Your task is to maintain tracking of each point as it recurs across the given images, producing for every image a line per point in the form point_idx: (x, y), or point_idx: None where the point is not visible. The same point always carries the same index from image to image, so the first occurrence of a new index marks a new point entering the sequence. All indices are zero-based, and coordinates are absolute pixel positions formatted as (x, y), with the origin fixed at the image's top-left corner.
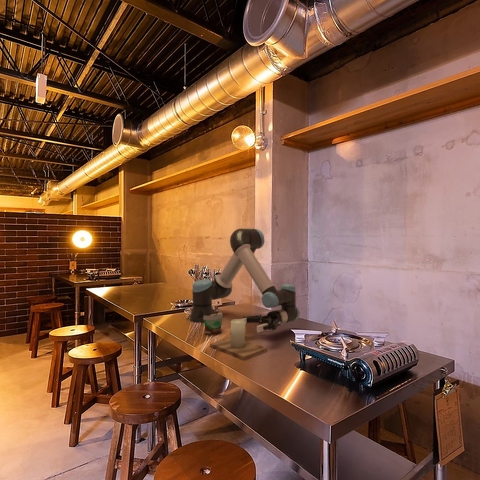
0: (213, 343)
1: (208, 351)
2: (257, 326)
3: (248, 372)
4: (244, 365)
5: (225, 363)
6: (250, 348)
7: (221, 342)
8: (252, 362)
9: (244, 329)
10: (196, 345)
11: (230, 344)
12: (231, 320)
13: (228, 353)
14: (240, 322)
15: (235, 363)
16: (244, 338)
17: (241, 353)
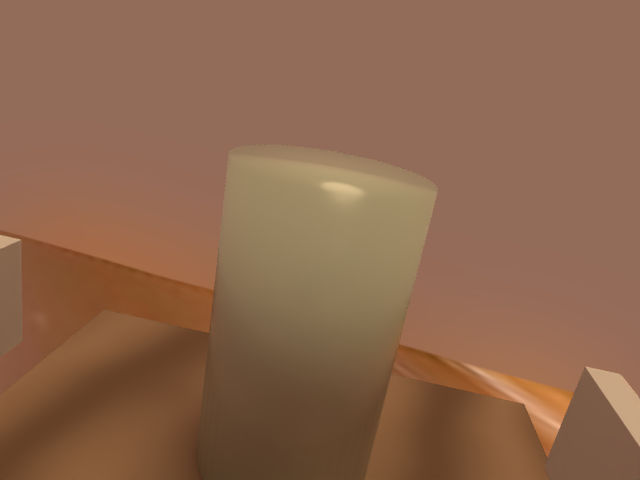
0: (509, 414)
1: (431, 369)
2: (3, 237)
3: (28, 256)
4: (76, 294)
5: (204, 291)
6: (102, 439)
7: (492, 459)
8: (25, 326)
9: (218, 260)
10: None
11: (374, 449)
12: (414, 173)
13: None
14: (262, 148)
15: (146, 300)
16: (205, 367)
17: (149, 337)
